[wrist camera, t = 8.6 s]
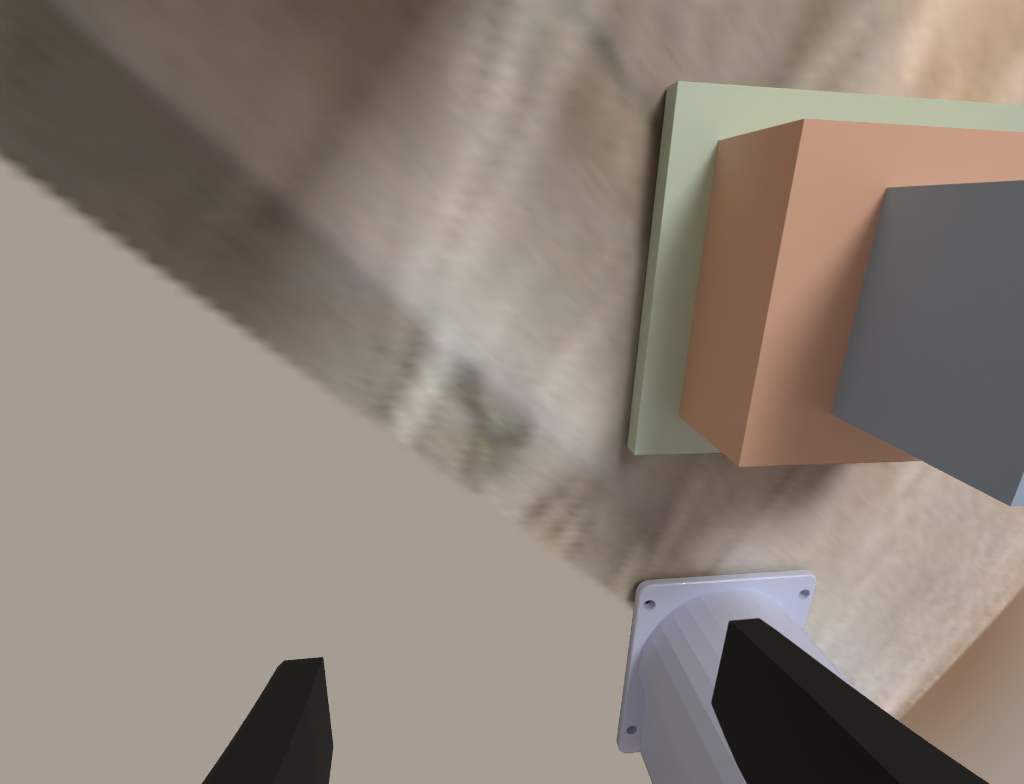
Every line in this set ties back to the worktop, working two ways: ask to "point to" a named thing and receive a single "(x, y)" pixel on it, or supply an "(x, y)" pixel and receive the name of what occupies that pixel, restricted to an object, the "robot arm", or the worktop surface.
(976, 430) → the blue brick
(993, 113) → the tower base
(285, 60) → the worktop surface
